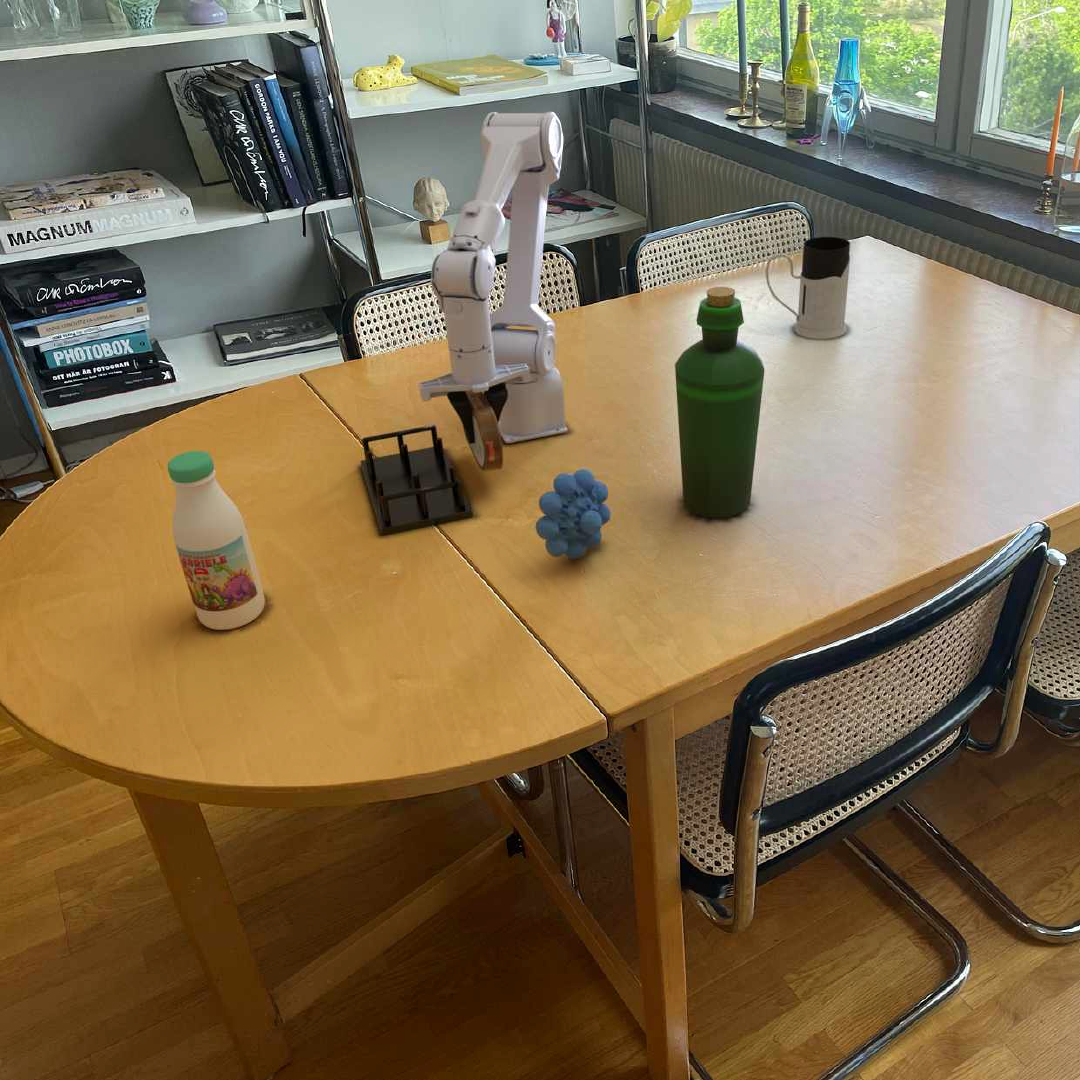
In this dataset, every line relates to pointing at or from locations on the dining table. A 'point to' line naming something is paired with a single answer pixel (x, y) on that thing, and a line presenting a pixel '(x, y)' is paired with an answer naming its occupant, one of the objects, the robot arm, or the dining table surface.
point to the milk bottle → (213, 546)
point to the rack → (413, 485)
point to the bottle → (718, 410)
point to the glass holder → (821, 287)
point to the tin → (485, 433)
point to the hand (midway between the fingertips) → (481, 438)
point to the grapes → (573, 514)
